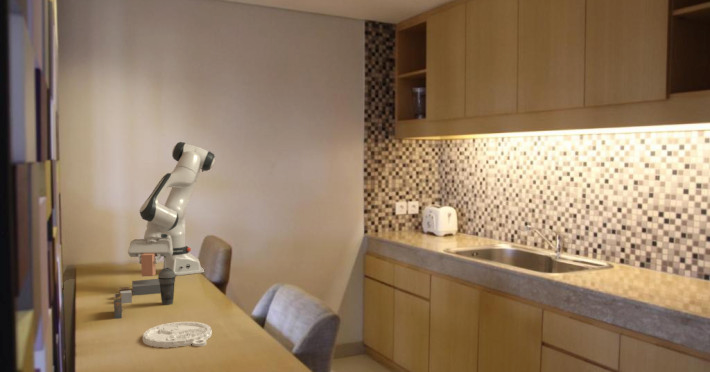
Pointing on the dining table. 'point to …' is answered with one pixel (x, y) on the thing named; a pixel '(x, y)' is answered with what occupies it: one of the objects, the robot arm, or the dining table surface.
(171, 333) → the medallion
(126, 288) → the walnut block
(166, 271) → the beverage cup
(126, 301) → the grey plastic block
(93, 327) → the dining table surface
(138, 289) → the block
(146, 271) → the terracotta block
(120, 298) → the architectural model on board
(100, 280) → the dining table surface
